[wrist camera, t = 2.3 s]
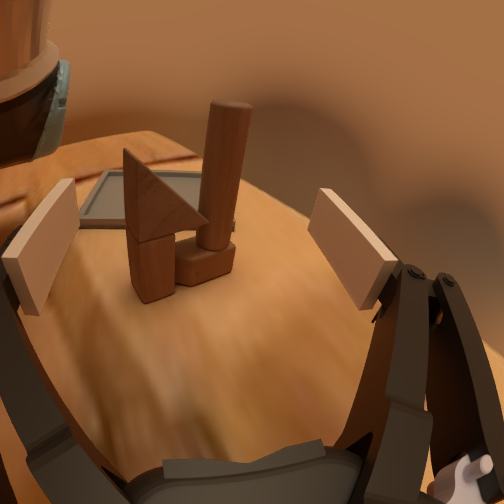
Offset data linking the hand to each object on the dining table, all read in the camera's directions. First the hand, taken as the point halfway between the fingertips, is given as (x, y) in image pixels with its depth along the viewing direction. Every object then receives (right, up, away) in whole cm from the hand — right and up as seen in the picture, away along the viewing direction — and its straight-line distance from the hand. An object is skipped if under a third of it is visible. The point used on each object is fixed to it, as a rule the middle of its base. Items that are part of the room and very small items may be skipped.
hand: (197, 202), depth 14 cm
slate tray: (-12, +6, +29) cm, 32 cm away
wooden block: (-5, -5, +16) cm, 17 cm away
